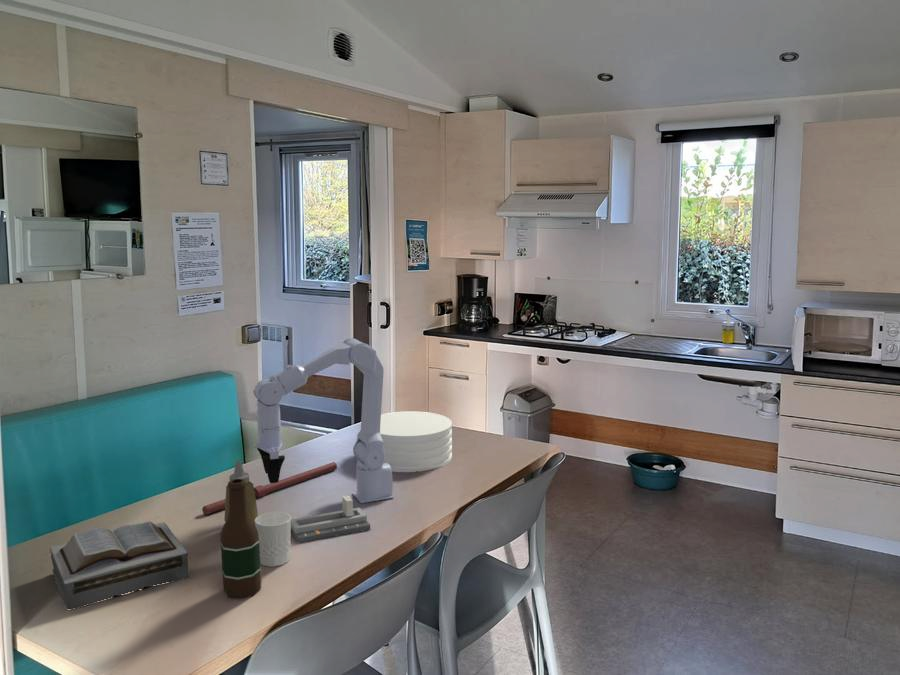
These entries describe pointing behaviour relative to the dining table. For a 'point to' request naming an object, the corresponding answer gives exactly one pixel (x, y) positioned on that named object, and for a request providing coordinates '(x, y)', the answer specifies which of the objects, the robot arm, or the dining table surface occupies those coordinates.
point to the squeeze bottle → (249, 490)
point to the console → (328, 525)
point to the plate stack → (416, 440)
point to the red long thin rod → (275, 486)
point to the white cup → (274, 538)
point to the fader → (347, 507)
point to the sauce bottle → (240, 547)
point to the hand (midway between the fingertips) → (271, 477)
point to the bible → (117, 562)
